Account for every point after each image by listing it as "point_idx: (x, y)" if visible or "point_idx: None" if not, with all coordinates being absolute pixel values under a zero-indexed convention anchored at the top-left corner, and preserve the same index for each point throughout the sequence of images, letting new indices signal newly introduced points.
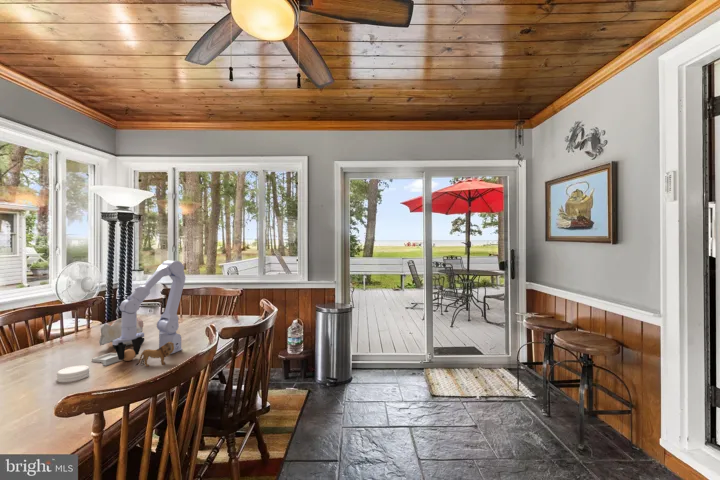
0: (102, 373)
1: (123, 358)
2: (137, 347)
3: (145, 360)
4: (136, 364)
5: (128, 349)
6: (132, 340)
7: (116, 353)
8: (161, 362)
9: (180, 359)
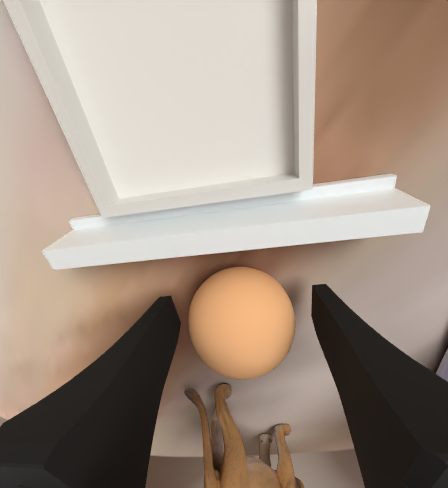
0: (43, 338)
1: (175, 332)
2: (337, 378)
3: (211, 440)
4: (188, 397)
5: (236, 367)
6: (400, 440)
7: (308, 6)
8: (259, 446)
9: (346, 446)
